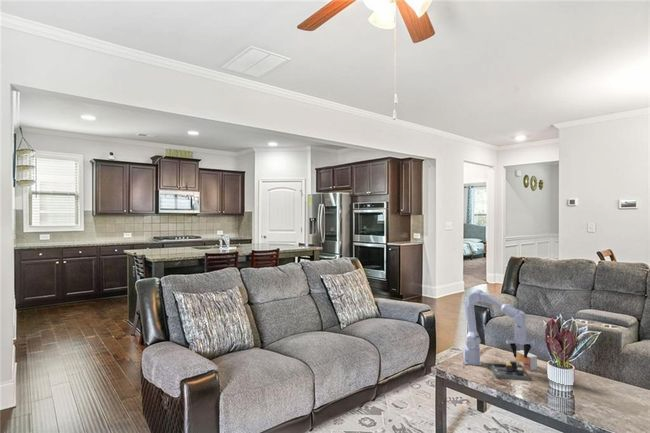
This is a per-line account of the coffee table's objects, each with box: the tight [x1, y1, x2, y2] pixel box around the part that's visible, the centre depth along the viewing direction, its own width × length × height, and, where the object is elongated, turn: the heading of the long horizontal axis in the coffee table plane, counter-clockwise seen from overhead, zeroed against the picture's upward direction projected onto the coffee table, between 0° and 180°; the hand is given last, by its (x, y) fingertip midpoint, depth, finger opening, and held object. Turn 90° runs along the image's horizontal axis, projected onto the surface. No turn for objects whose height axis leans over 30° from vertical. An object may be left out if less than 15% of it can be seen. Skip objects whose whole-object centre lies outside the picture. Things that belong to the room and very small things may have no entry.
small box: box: [515, 349, 538, 371], centre depth 220 cm, size 8×6×10 cm
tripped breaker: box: [504, 362, 512, 371], centre depth 212 cm, size 3×2×4 cm
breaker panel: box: [488, 359, 532, 381], centre depth 212 cm, size 18×16×5 cm
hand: (520, 357), depth 211 cm, fingers open, 5 cm apart
